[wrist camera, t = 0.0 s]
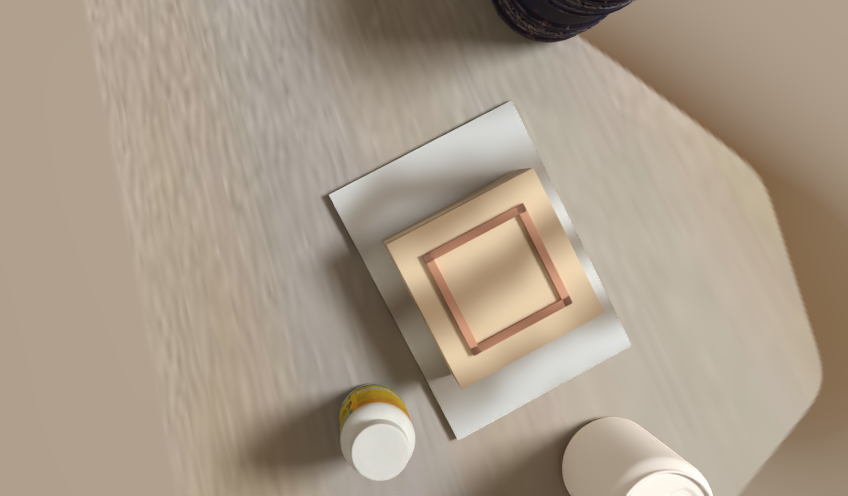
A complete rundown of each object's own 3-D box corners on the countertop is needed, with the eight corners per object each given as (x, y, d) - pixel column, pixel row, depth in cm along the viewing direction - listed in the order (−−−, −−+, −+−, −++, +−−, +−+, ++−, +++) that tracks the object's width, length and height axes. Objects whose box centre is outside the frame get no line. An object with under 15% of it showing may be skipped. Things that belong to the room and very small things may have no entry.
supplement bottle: (405, 447, 65) (418, 491, 55) (338, 448, 64) (339, 493, 55) (407, 381, 64) (421, 414, 55) (339, 381, 64) (341, 414, 54)
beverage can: (666, 489, 68) (738, 553, 56) (577, 525, 67) (630, 597, 55) (637, 400, 67) (704, 446, 55) (546, 435, 66) (594, 489, 54)
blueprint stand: (629, 344, 66) (658, 359, 60) (456, 438, 65) (469, 463, 59) (509, 101, 64) (528, 92, 58) (328, 194, 63) (328, 195, 57)
